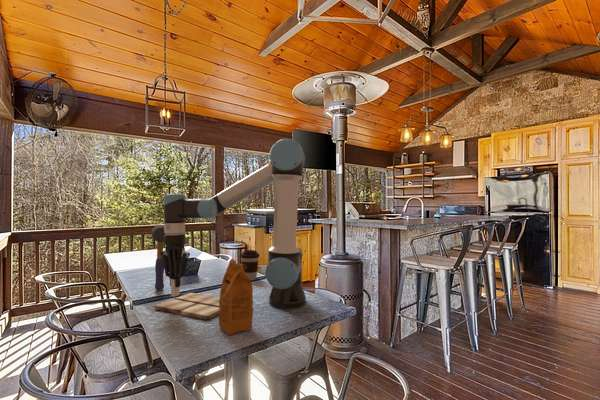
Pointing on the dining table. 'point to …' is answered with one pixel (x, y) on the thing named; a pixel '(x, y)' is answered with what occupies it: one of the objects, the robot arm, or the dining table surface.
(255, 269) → the coffee cup
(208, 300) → the wooden board
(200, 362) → the dining table surface
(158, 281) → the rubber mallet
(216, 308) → the plank
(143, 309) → the dining table surface
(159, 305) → the plank
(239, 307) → the coffee package
